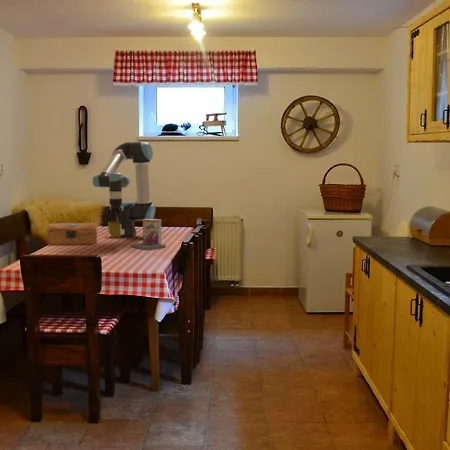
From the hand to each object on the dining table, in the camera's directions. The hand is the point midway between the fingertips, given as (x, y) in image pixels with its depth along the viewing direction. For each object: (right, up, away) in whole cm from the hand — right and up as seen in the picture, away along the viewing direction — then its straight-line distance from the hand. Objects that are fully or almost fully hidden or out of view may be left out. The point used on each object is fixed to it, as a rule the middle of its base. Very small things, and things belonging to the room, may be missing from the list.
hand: (116, 233), depth 374 cm
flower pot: (0, -2, 0) cm, 2 cm away
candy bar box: (+20, -8, +19) cm, 28 cm away
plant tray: (+20, -9, 0) cm, 22 cm away
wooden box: (-30, -8, +15) cm, 35 cm away
